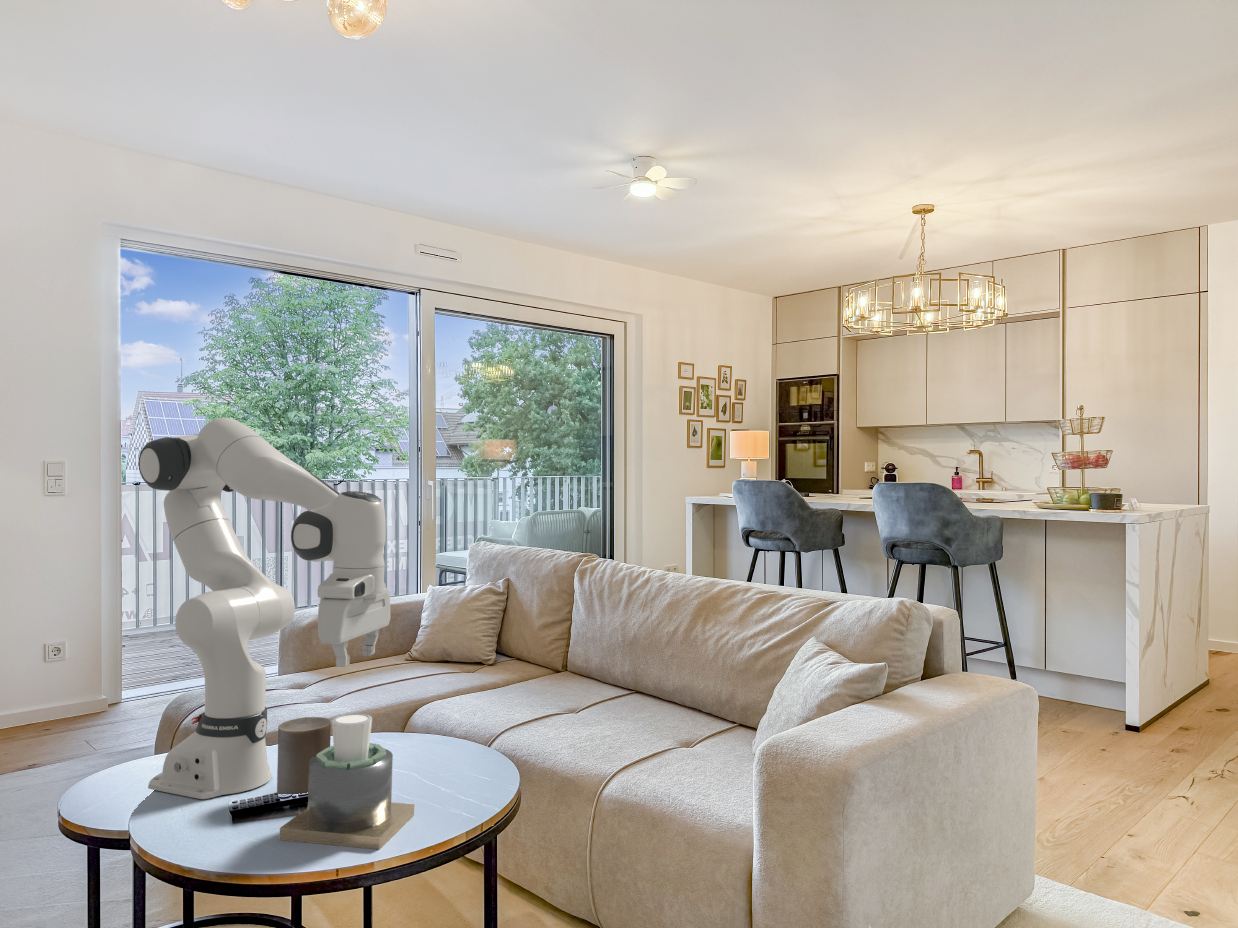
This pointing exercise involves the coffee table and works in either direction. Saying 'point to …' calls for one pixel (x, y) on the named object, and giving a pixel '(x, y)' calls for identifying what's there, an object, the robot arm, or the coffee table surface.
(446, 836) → the coffee table surface
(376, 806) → the green-rimmed dark canister
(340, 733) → the white cylinder
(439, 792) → the coffee table surface
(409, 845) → the coffee table surface
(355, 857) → the coffee table surface
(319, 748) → the pillar candle
